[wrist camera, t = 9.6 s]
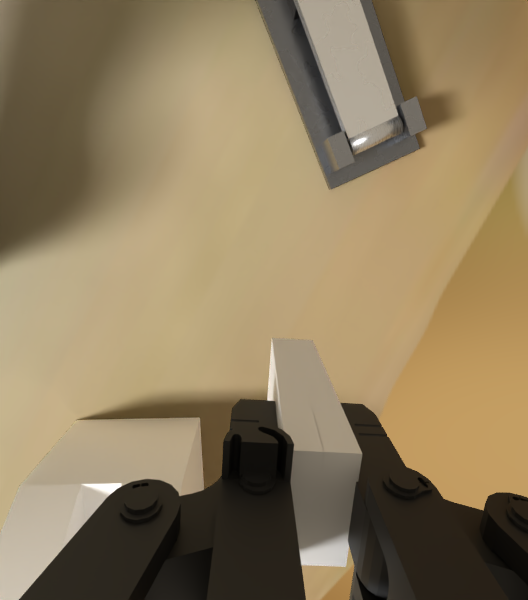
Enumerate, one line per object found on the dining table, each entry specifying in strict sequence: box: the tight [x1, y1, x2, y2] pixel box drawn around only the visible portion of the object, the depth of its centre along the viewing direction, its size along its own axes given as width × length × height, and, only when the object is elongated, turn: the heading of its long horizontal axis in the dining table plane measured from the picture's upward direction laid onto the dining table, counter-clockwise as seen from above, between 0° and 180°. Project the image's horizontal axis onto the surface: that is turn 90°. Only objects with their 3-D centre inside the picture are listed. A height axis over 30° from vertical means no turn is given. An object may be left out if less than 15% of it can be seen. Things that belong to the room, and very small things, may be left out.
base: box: [255, 0, 427, 190], centre depth 34 cm, size 24×10×7 cm, turn 24°
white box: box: [0, 417, 204, 600], centre depth 37 cm, size 19×15×25 cm
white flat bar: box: [294, 0, 403, 156], centre depth 34 cm, size 18×5×2 cm, turn 24°
